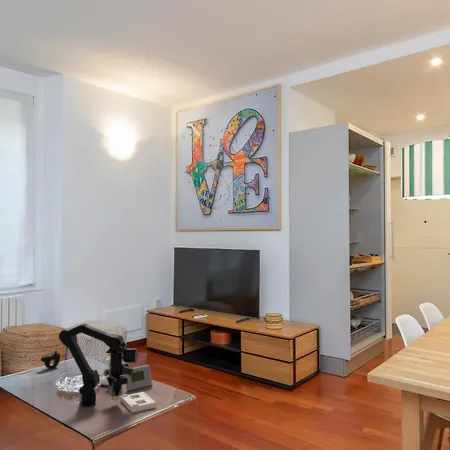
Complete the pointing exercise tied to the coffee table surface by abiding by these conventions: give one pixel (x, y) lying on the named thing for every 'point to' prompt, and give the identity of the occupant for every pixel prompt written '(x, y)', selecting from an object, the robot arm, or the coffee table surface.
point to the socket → (138, 402)
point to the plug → (112, 393)
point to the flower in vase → (104, 380)
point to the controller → (49, 358)
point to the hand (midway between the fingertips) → (115, 394)
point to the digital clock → (139, 378)
